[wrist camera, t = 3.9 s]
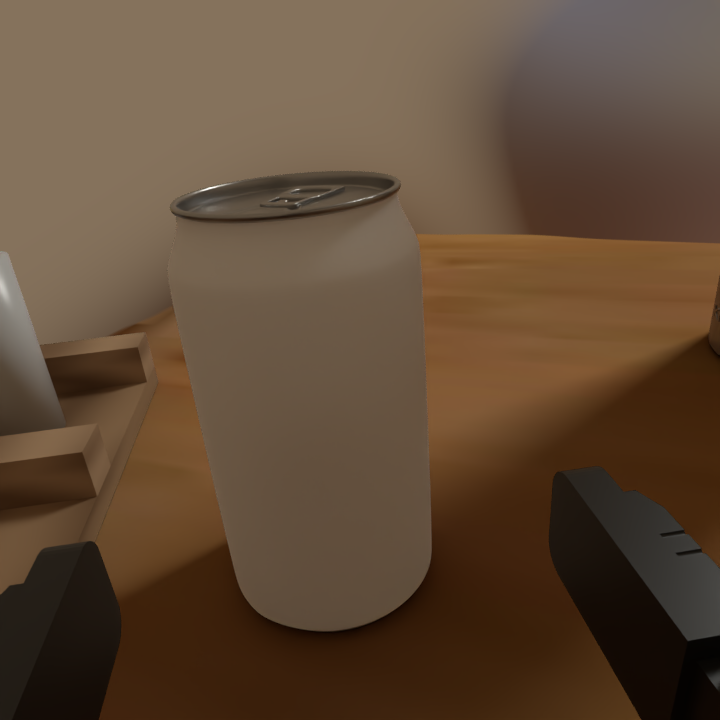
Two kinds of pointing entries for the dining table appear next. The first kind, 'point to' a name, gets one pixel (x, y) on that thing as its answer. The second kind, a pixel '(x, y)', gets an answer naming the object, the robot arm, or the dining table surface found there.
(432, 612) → the dining table surface
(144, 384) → the rail
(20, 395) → the grey peg
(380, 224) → the can
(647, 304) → the dining table surface
